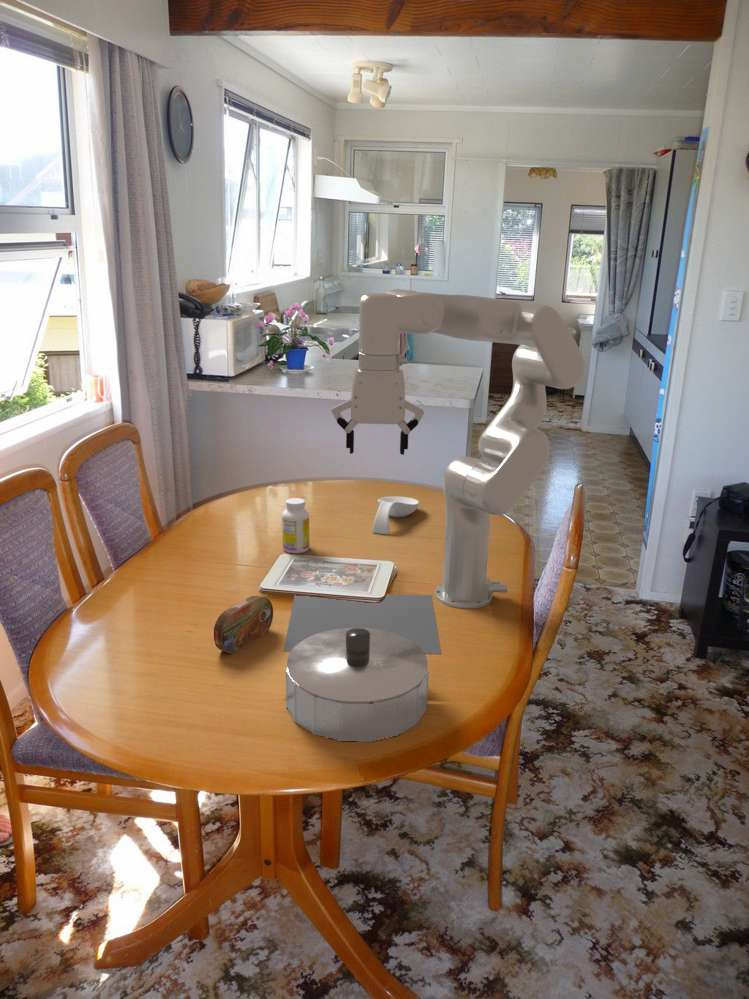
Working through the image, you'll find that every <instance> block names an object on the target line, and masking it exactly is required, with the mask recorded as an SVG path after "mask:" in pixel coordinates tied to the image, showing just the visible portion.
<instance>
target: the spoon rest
mask: <svg viewBox="0 0 749 999" xmlns="http://www.w3.org/2000/svg"><path fill="white" fill-rule="evenodd" d="M377 503H378V508H377V512H376V513H375V514H376V515H375V517H374V521H373V524H372V531H371V532H372V533H374V534H378V535H379V534H380V535H390V533H391V531H390V517H391V518H392V517H393V518H406V517H408V516H409V515H410V514H413V512H415V511H416V510H417V509H418V507H419V506H420V501H419V500H418V499H416V498H412V497H407V496H406V497H405V496H395V495H394V496H384V497H380V498H378V499H377Z"/></svg>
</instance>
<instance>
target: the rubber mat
mask: <svg viewBox="0 0 749 999" xmlns="http://www.w3.org/2000/svg"><path fill="white" fill-rule="evenodd" d="M386 594H387V595H386V597H385V599H384V600H383V601H382V602H380V603H364V602H356V601H347V600H336V599H327V598H318V597H310V596H296V595H295V594H294V597H293V601H292V607H291V612H290V617H289V621H288V622H289V623H288V627H287V632H286V635H285V641H284V648H283V653H286V652H287V653H290V652H291V650H292V649H293V648H294V647H295V646H296V645H297V644H298V643H300V642H301V641H303V640H304V639H306V638H308V637H310V636H313V635H315V634H318V633H321V632H325V631H329V630H334V629H341V628H371V629H378V630H384V631H388V632H392V633H395V634H398V635H400V636H402V637H405V638H407V639H409V640H410V641H412V642H413V643H415V644H416V645H417V646H418V647H420V648H421V650H422V651H423V652H424V654H425V655H442V649H441V645H440V643H441V642H440V638H439V633H438V627H437V619H436V615H435V614H436V613H435V608H434V601H433V597H432V595H431V594H398V593H397V594H396V593H395V594H393V593H389V594H388V593H386Z"/></svg>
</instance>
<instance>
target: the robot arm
mask: <svg viewBox="0 0 749 999" xmlns="http://www.w3.org/2000/svg"><path fill="white" fill-rule="evenodd" d="M358 314H359V320H358V322H359V323H358V324H359V325H358V326H359V327H358V329H359V330H358V367H356V368H355V369H354V370H353V377H352V381H351V382H352V383H351V395H350V396H351V397H350V398H349V399H347V400H345V401H343V402H342V403H340V404H337V405H335V406H333V407H332V408H331V413H332V415H333V417H334V419H335V420H336V423H337V424H338V426H340V427H341V428H342V429H343V430H344V432H345V434H346V436H345V437H346V438H345V439H346V440H345V449H349V454H351V455H352V454H354V451H355V450H354V448H355V447H354V446H355V430H354V429H355V428H356V426H357V425H358V424H360V425H361V424H362V425H397V426H398V427H399V429H401V431H400V433H399V434H400V435H399V436H400V437H399V454H400V455H402V456H403V455H405V450H408V449H409V434H410V433H411V432H412V431H413V430H414V429H415V428H416V427H417V426H418V425H419V423H420V421H421V419H422V418H423V416H424V414H425V411H424V409H423V408H421V407H420V406H417V405H416V404H414V403H412V402H410V401H408V400H406V386H405V385H406V384H405V375H404V370H403V369H401V368H400V367H401V366H403V365H408V356H403V355H402V354H401V335H402V334H413V335H420V336H421V335H428V334H431V333H432V334H438V335H443V336H447V337H451V338H454V339H458V340H459V339H460V340H467V341H474V342H477V341H478V342H489V343H497V344H508V345H509V344H510V345H511V344H512V345H518V347H517V348H516V349H515V351H514V353H513V355H512V362H511V368H512V381H513V382H512V389H511V393H510V396H509V398H508V400H507V401H506V402H505V404H503V406H502V408H501V409H500V410H499V411H498V412H497V414H496V415H495V417H494V418H493V419H492V420H491V421H490V423H489V424H488V425H487V426H486V428H485V429H484V430H483V432H482V433H481V435H480V437H479V440H478V442H477V443H478V444H477V446H478V452H479V453H480V455H481V456H482V457H483V458H485V459H486V460H488V461H489V462H487V461H484V460H480V459H479V458H475V457H470V456H460V457H457V458H455V459H453V460H452V461H450V462H449V463H448V464H447V466H446V468H445V470H444V472H443V478H442V488H443V495H444V503H445V524H444V526H445V527H444V528H445V529H444V546H443V562H442V563H443V564H442V583H441V584H438V585H437V586H436V587H435V589H434V597H435V599H436V600H437V601H438V602H440V604H443V605H446V606H448V607H452V608H457V609H465V610H466V609H471V610H472V609H477V608H478V609H479V608H482V607H485V606H487V605H489V604H490V603H491V602H492V600H493V593H503V594H505V593H506V594H507V593H508V584H507V583H501V581H500V580H497V579H496V580H495V579H494V580H490V579H489V578H488V576H487V573H488V572H487V571H488V562H489V561H488V560H489V544H490V533H491V532H490V531H491V517H490V515H491V516H492V515H493V516H502V515H505V514H507V513H509V512H510V511H511V510H512V509H514V508H515V506H516V505H517V504H518V503H519V502H520V501H521V499H522V498H523V497H524V496H525V494H526V492H527V491H528V490H529V489H530V488H531V486H532V485H533V484H534V483H535V481H536V480H537V478H538V477H539V476H540V475H541V473H542V472H543V470H544V469H545V467H546V465H548V461H549V459H550V458H549V457H550V453H551V442H550V440H549V438H548V436H547V435H546V434H545V432H543V431H542V430H540V429H538V427H539V426H540V424H541V423H542V422H543V419H544V418H545V416H546V413H547V407H548V405H547V403H548V402H547V400H548V399H547V392H546V387H550V388H555V389H560V390H569V389H572V388H574V387H575V386H576V387H577V385H578V384H579V383H580V382H581V381H582V379H583V377H584V373H585V364H586V363H585V359H584V356H583V353H582V351H581V349H580V347H579V345H578V344H577V342H576V340H575V338H574V337H573V334H572V332H571V331H570V329H569V327H568V325H567V324H566V321H564V319H563V318H562V316H561V315H560V314H559V312H558V311H557V310H556V309H555V308H554V307H551V306H550V305H546V304H541V303H534V302H533V303H531V302H524V301H518V300H517V301H516V300H509V299H500V298H494V297H488V296H477V295H469V294H468V295H466V294H441V293H431V292H423V291H422V292H420V291H416V290H409V289H399V288H395V289H391V290H389V291H387V292H386V293H385V292H383V293H382V292H372V293H365V294H363V295H362V296H361V298H360V300H359V313H358ZM349 408H350V418H349V420H348V421H347V420H346V419H345V418H344V417H343V416H342V412H344V411H346V410H347V409H349ZM406 410H408V411H410V412H411V413H414V416H413V417H412V419H411V420H409V421H408V422H406V420H405V416H406ZM490 462H492V463H493V464H491V463H490ZM494 464H496V465H494ZM497 465H499V466H497Z"/></svg>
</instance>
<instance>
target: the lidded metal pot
mask: <svg viewBox="0 0 749 999" xmlns="http://www.w3.org/2000/svg"><path fill="white" fill-rule="evenodd" d="M427 658H428V657H427V656H426V654H424V652H423V651H422V650H421V648H420V647H418V646H417V645H416V644H415V643H413V642H412V641H410V640H409V639H407V638H405V637H402V636H400V635H398V634H395V633H392V632H388V631H384V630H378V629H371V628H341V629H334V630H329V631H325V632H321V633H318V634H315V635H313V636H310V637H308V638H306V639H304V640H303V641H301V642H300V643H298V644H297V645H296V646H295V647H294V648H293V649H292V650H291V652H289V654H288V657H287V660H286V661H287V662H286V669H285V702H286V703H285V707H286V706H287V707H286V709H287V708H288V709H287V710H288V712H289V714H290V716H291V718H292V717H293V718H292V720H293V721H294V723H295V724H297V725H298V726H300V727H302V728H303V729H305V730H306V731H308V732H309V731H310V733H311V734H312V733H313V734H312V735H314V736H317V735H319V736H318V737H321V736H324V737H323V738H325V737H328V738H332V739H335V740H334V741H336V740H339V741H358V742H357V743H369V742H370V743H373V742H372V741H374V742H376V741H375V740H378V741H380V740H379V739H382V738H386V737H391V736H395V737H396V736H397V737H398V735H399V734H400V735H401V733H402V734H404V733H405V732H407V731H409V730H410V729H411V728H413V727H416V726H417V725H418V724H419V722H420V721H421V719H422V718H423V716H424V714H425V712H426V711H427V709H428V696H429V695H428V694H429V690H428V689H429V673H430V672H429V670H428V669H429V668H428V659H427ZM406 730H407V731H406ZM400 735H399V736H400ZM328 738H327V739H328ZM391 738H392V737H391ZM332 739H331V740H332ZM339 741H338V742H339Z"/></svg>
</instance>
